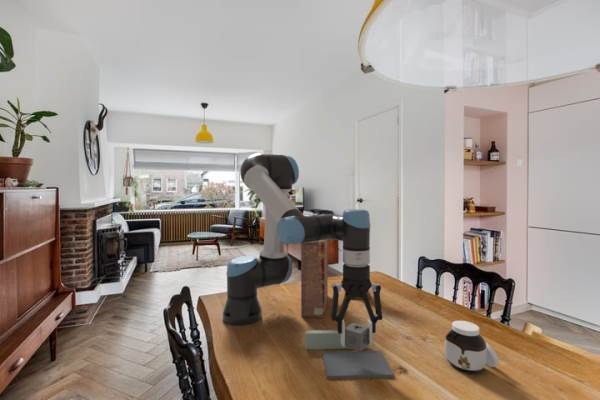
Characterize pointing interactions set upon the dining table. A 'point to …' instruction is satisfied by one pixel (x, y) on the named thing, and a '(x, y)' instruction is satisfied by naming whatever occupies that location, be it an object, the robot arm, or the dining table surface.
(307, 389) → the dining table surface
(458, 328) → the spread jar
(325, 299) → the book
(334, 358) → the mat
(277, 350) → the dining table surface
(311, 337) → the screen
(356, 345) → the dice cube
